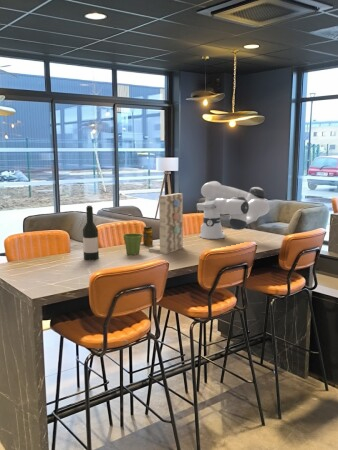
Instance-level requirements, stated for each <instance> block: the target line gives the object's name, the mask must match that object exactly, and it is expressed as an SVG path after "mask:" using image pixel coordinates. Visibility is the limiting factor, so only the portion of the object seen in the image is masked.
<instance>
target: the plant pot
mask: <svg viewBox="0 0 338 450" xmlns="http://www.w3.org/2000/svg"><path fill="white" fill-rule="evenodd" d="M122 237H123V240H124V245H125V250H126V254H127V255H130V256H134V255H139V254H140V251H141V250H140V249H141V246H140V244H142V239H143V233H135V232H134V233H125V234H122Z"/></svg>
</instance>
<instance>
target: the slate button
mask: <svg viewBox="0 0 338 450" xmlns="http://www.w3.org/2000/svg"><path fill="white" fill-rule="evenodd" d="M179 205H180V201H179V200H174V201H173V206H174V207H179Z"/></svg>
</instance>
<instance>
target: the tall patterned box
mask: <svg viewBox="0 0 338 450" xmlns="http://www.w3.org/2000/svg"><path fill="white" fill-rule="evenodd" d="M183 196H184V193H179V192H177V193H170V194H164V195H159V196H158V197H159V201H158V202H159V203H158V205H159V206H158V208H159V244H158V245H154V246H151V247H149V248H148V253H157V254H164V255H167V254H169V253H172V252H175V251H177V250H180V249H183V248H184V247H183V245H184V244H183V243H184V242H183V241H184V240H183V238H184V237H183V236H184V227H183V226H184V225H183V223H184V221H183V220H184V219H183V217H184V216H183V215H184V214H183V213H184V211H183V209H184V208H183V207H184V205H183V203H184V202H183V199H184V197H183ZM174 200H179V201H180V205H179V207H174V206H173V201H174ZM174 213H179V214H180V219H179V220H174V219H173V215H174ZM175 226H179V228H180V232H179V233H178V234H176V233H174V232H173V228H174V227H175Z"/></svg>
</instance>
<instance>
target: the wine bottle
mask: <svg viewBox="0 0 338 450" xmlns="http://www.w3.org/2000/svg"><path fill="white" fill-rule="evenodd" d="M85 209H86V223H85V225H84V227H83V228H82V243H83V244H82V245H83V246H82V248H83V259H84V260H85V261H95V260H96V261H97V260H98V259H100V258H99V230H98V228H97V226H96V224H95V223H94V217H93V216H94V212H93V211H94V210H93V209H94V208H93V205H86V208H85Z"/></svg>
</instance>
